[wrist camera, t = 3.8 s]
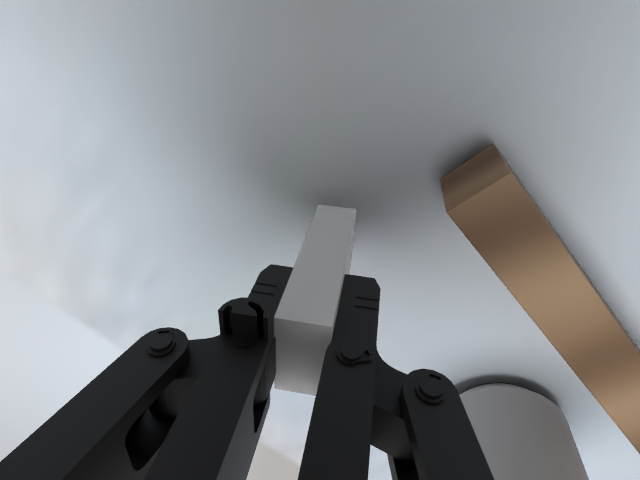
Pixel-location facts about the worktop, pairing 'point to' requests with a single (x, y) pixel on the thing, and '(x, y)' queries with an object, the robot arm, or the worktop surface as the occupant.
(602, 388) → the bar
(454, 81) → the worktop surface
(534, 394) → the beverage can
